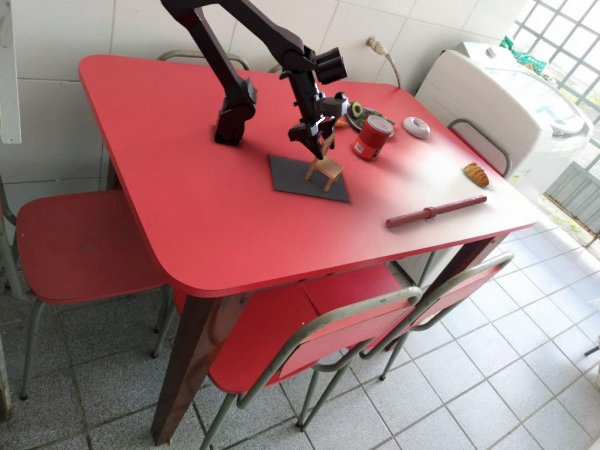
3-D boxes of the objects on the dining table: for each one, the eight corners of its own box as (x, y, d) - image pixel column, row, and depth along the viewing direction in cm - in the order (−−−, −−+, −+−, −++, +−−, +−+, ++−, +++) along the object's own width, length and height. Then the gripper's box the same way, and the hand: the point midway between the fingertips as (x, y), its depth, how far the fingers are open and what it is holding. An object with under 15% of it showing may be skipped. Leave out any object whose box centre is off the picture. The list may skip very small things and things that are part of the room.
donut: (404, 119, 151) (399, 129, 143) (408, 111, 148) (404, 121, 141) (427, 132, 150) (424, 143, 142) (433, 125, 148) (429, 135, 140)
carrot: (301, 130, 120) (310, 122, 117) (296, 117, 121) (305, 109, 118) (347, 134, 133) (357, 127, 129) (343, 122, 134) (352, 114, 130)
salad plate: (385, 114, 147) (391, 103, 144) (402, 144, 136) (410, 133, 133) (337, 103, 140) (343, 91, 137) (352, 134, 128) (359, 122, 125)
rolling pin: (388, 232, 101) (395, 224, 99) (381, 223, 102) (387, 214, 100) (484, 205, 127) (490, 198, 125) (477, 198, 129) (483, 191, 127)
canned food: (374, 165, 121) (393, 135, 113) (350, 154, 120) (367, 123, 113) (376, 152, 126) (393, 122, 119) (352, 141, 126) (369, 111, 118)
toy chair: (304, 178, 104) (322, 141, 96) (315, 167, 108) (333, 132, 101) (326, 192, 103) (345, 156, 95) (336, 181, 108) (355, 146, 100)
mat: (274, 190, 97) (275, 189, 96) (269, 155, 105) (269, 155, 105) (349, 202, 104) (349, 201, 103) (338, 169, 112) (338, 168, 112)
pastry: (490, 187, 138) (497, 178, 135) (478, 189, 134) (486, 180, 131) (471, 168, 142) (478, 160, 140) (459, 170, 138) (466, 161, 136)
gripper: (319, 94, 84) (342, 164, 89) (351, 73, 97) (369, 135, 103) (275, 107, 90) (300, 171, 96) (312, 85, 103) (331, 143, 109)
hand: (327, 154), depth 101 cm, fingers closed on toy chair, 6 cm apart
